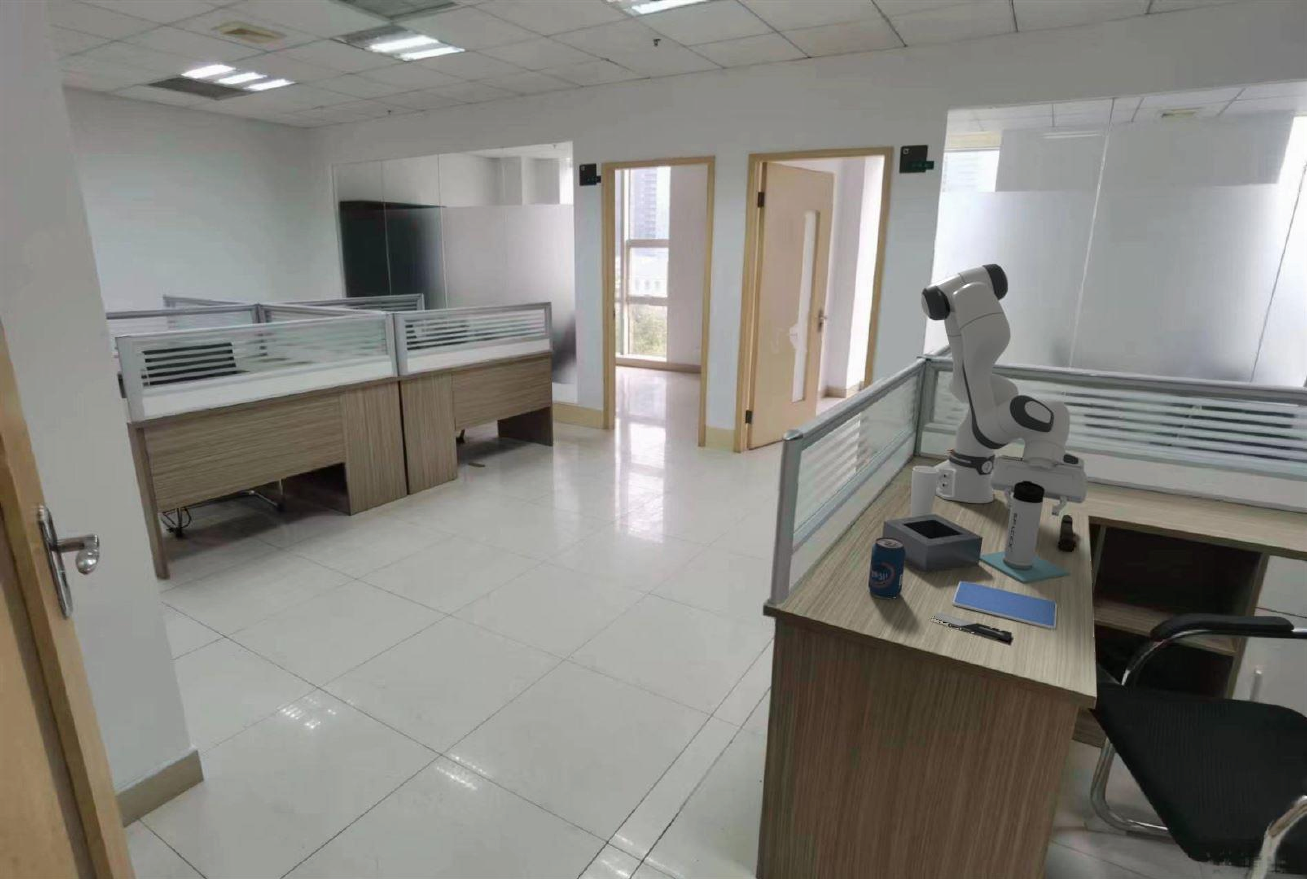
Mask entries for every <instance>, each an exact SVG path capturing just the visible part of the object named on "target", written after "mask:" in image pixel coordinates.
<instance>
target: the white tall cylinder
mask: <svg viewBox="0 0 1307 879" xmlns="http://www.w3.org/2000/svg"><path fill="white" fill-rule="evenodd" d="M933 467H934V466H927V465H916V466H913V469H912V474H911V482H910V483H911V486H910V488H911V489H910V492H911V493H910V516H909V518H910V517H917V516H925V515H932V512H933V508H934V502H935V498H936V490H937V485H938V477H939V470H938V469H936V468H933Z"/></svg>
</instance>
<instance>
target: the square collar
mask: <svg viewBox="0 0 1307 879" xmlns="http://www.w3.org/2000/svg"><path fill="white" fill-rule="evenodd" d="M882 525H883V528H882V535H881V536H882V537H890V538H895V539H898V540H900V541H902V542H903V544H904V549H905V551H906V555H905V563H907V564H909V565H910V566H911V567H913V568H915V569H917V570H918V571H920V572H921V571H922V572H921V573H923V574H924V573H925V574H929V573H935V572H940V571H948V570H953V569H954V570H955V569H958V568H964V567H970V566H977V565H980V555H981V552H982V544H983V537H982V536H981V535H979V534H977V533H975V532H973V531H970V530H969V529H967V528H964V527H963V526H962V525H961V526H960V525H959V524H957V523H954V522H952V521H950V520H948V519H947V518H944V517H942V516H941V515H938V514H937V513H935V514H932V513H931V515H925V516H917V517H910V516H909V517H904V518H897V519H896V518H895V519H889V520H884V521H883V524H882Z"/></svg>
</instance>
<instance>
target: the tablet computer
mask: <svg viewBox="0 0 1307 879" xmlns="http://www.w3.org/2000/svg"><path fill="white" fill-rule="evenodd" d="M951 604H952V605H953V606H955V607H959V608H963V609H967V610H972V611H975V612H978V613H979V612H980V613H984V614H987V615H991V616H996V617H1001V618H1003V619H1008V620H1011V619H1012V620H1011V621H1016V622H1020V623H1024V624H1027V623H1028V625H1031V626H1036V627H1040V628H1043V629H1046V628H1048V629H1047V630H1051V629H1053V630H1052V631H1055V630H1056V629H1057V614H1058V613H1057V612H1058V603H1056V602H1055V601H1054V600H1048V599H1044V598H1039V597H1035V596H1030V595H1027V594H1021V593H1016V592H1013V591H1008V590H1005V589H999V588H996V587H990V586H987V585H982V584H979V583H973V582H969V581H965V580H961V581H959V582H958V585H957V587H956V590H955V593H954V597H953V600H952V602H951ZM1054 629H1055V630H1054Z"/></svg>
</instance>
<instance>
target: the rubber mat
mask: <svg viewBox="0 0 1307 879" xmlns="http://www.w3.org/2000/svg"><path fill="white" fill-rule="evenodd" d="M1003 557H1004V550H1003V551H997V552H992V553H986V554H980V560H979V562H980V561H981V562H983V563H984V564H986V565H988V566H989V567H992V568H994V569H995V570H997V571H1000V572H1001V573H1003V574H1005V575H1006V576H1009V577H1011V578H1013V579H1014V580H1016V581H1018V582H1019V583H1022V584H1026V583H1031V582H1037V581H1042V580H1043V581H1044V580H1047V579H1048V580H1049V579H1051V578H1052V579H1053V578H1058V577H1063V576H1068V575H1069V576H1070V572H1069V571H1068V570H1066V569H1064V568H1062V567H1060V566H1057V565H1055V564H1053V563H1051V562H1049V561H1047V560H1045V559H1043V558H1041V557H1039V556H1037V555H1035V554H1034V559H1033V565H1032V568H1030V569H1027V570H1020V569H1015V568H1011V567H1009V566H1007V565H1006V564H1004V562H1003Z"/></svg>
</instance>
